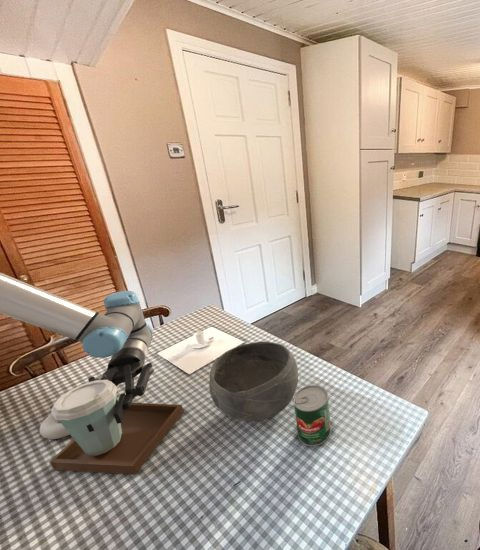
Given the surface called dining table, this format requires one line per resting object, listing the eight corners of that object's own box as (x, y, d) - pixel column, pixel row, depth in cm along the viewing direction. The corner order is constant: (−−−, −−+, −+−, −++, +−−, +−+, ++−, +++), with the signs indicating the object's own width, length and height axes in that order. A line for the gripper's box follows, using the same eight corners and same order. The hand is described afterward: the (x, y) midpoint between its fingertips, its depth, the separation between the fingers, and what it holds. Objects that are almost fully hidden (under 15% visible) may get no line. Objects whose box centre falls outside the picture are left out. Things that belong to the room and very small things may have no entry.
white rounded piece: (220, 341, 109) (218, 331, 107) (199, 352, 103) (196, 342, 101) (206, 334, 113) (203, 324, 112) (184, 344, 107) (182, 335, 106)
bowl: (220, 390, 86) (209, 346, 81) (295, 372, 93) (290, 331, 88) (214, 454, 68) (200, 403, 63) (307, 425, 75) (302, 377, 69)
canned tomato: (326, 414, 78) (323, 381, 74) (334, 440, 71) (332, 404, 67) (295, 424, 75) (291, 390, 71) (301, 451, 69) (296, 415, 64)
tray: (53, 470, 65) (48, 461, 64) (116, 409, 80) (113, 401, 79) (135, 474, 64) (132, 466, 63) (184, 412, 79) (181, 404, 78)
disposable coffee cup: (63, 457, 67) (34, 405, 61) (113, 419, 76) (92, 371, 70) (96, 471, 64) (69, 417, 58) (145, 429, 73) (125, 380, 67)
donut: (100, 422, 77) (91, 403, 83) (96, 412, 75) (86, 393, 81) (46, 450, 70) (39, 427, 75) (39, 440, 68) (34, 416, 74)
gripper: (168, 361, 88) (156, 421, 69) (94, 379, 81) (57, 451, 62) (161, 339, 85) (146, 395, 66) (84, 356, 78) (42, 424, 59)
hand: (103, 422), depth 64 cm, fingers open, 4 cm apart
